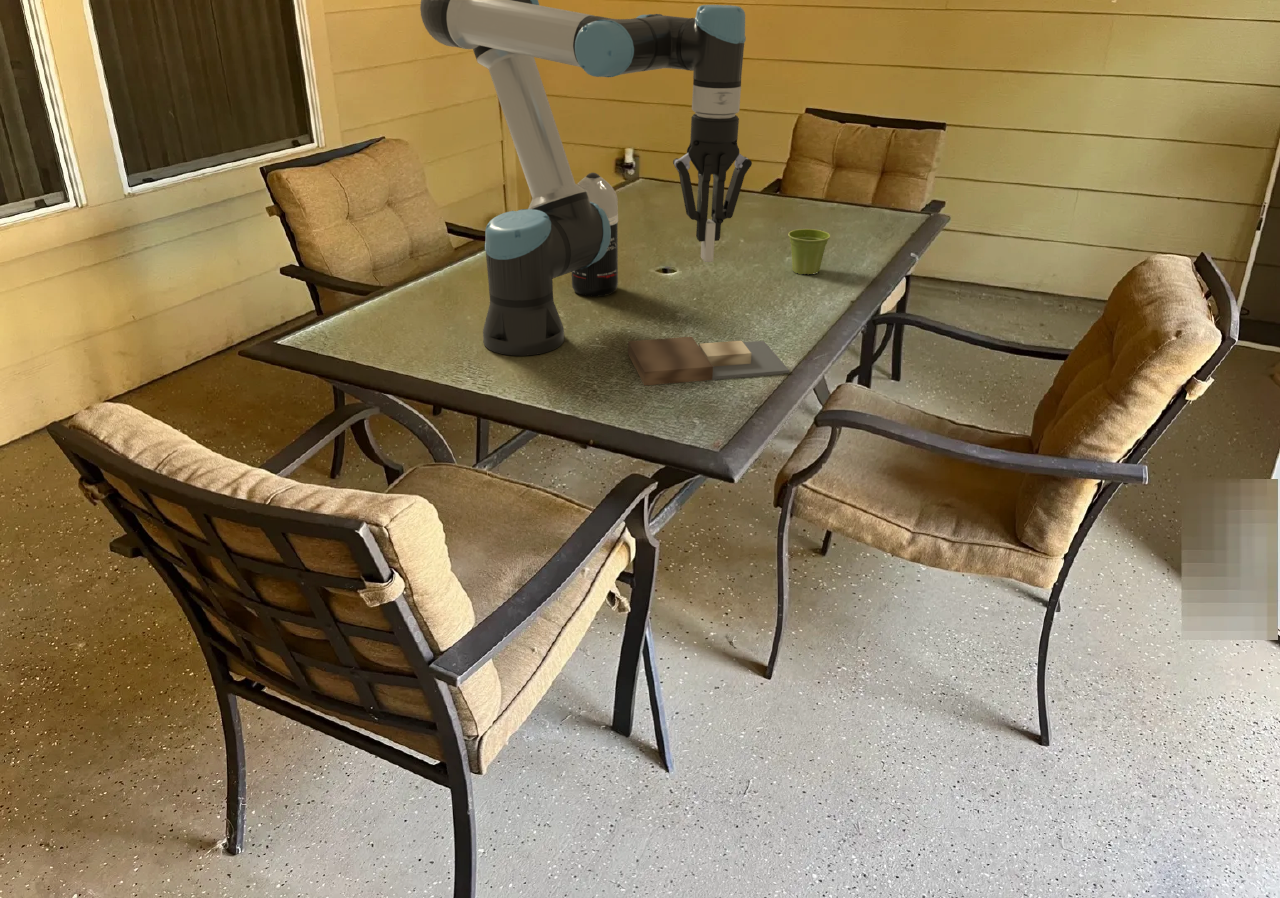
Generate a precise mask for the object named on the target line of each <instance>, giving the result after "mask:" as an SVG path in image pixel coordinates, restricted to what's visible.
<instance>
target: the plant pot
mask: <svg viewBox="0 0 1280 898" xmlns="http://www.w3.org/2000/svg"><path fill="white" fill-rule="evenodd" d="M787 236H788V238H789V242H790V247H791V263H792V264H791V267H792V272H793V271H794V272H793V273H795V274H797V273H798V274H797V275H801V274H804V275H806V274H807V275H809V274H813V273H816V272H818V271H819V272H820V270H821V265H822V262H823V258H824V257H823V256H824V254H825V250H826V246H827V244H828V241H829V239H830V238H831V234H830V233H829V232H827V231H823V230H820V229H814V228H812V229H811V228H801V229H793V230H791V231H788V234H787Z"/></svg>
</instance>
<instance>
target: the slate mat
mask: <svg viewBox="0 0 1280 898" xmlns="http://www.w3.org/2000/svg"><path fill="white" fill-rule="evenodd" d="M742 342H743V343H744V344H745V346H746V347H747V348H748V349H749V351H750V352H751V364H739V365H726V366H713V377H712V380H711V381H715V380H726V379H727V380H728V379H736V378H737V379H738V378H748V377H749V378H750V377H751V378H752V377H760V376H761V377H762V376H772V375H773V376H774V375H784V374H783V373H788V374H790V369H789V368H788V367H787V366H786V365H785V364H784V362H783V361H782V360H781V359H780V358H779V356H778V355H777V354H776V353H775V352H774V351H773V350H772V349H771V348H770V347H769V345H768V344H767V343H766V341H764V340H755V341H742Z"/></svg>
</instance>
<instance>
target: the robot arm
mask: <svg viewBox="0 0 1280 898" xmlns="http://www.w3.org/2000/svg"><path fill="white" fill-rule="evenodd" d="M419 7H420V8H419V10H420V17H421V21H422V24H423V26H424V28H425V29H426V31H427V33H428V34H429V35H430V36H431V37H432V38H433V39H434V40H435V41H437V42H438V43H440V44H441V45H444V46H447V47H453V48H459V49H464V50H473V53H474V56H475V58H476V62H477V64H479V65H481V66H482V67H484V68H486V69H488V73H489V75H490V77H491V81H492V83H493V86H494V89H495V92H496V95H497V99H498V101H499V102H498V103H499V104H500V107H501V111H502V113H503V116H504V119H505V121H506V125H507V127H508V130H509V134H510V137H511V139H512V143H513V146H514V148H515V151H516V154H517V157H518V160H519V163H520V166H521V169H522V172H523V174H524V178H525V180H526V183H527V186H528V188H529V193H530V195H531V200H530V201H531V202H530V204H529V206H528V208H523V209H518V210H516V211H515V210H510V211H506V212H503V213H501V214H497V216H495V217H493V218H492V219H490V220H489V222H488V223H487V225H486V226H485V236H484V237H485V242H484V251H485V258H486V269H487V280H488V281H487V282H488V292H489V305H488V310H487V313H486V317H485V322H484V325H483V329H482V338H483V345H484V346H485V348H487V349H488V350H490V351H491V352H494V353H496V354H502V355H505V356H518V357H519V356H520V357H521V356H536V355H540V354H546V353H549V352H551V351H554V350H555V349H557V348H559V347H560V346H561V345H563V343H564V342H565V330H564V325H563V323H562V320H561V317H560V315H559V313H558V310H557V307H556V304H555V301H554V290H553V289H554V285H553V284H554V283H553V279H555V278H558V277H560V276H561V277H562V276H563V275H566V274H567V275H568V274H570V273H572V272H573V271H575V270H578V269H583V268H586V267H588V266H590V265H591V264H593V263H595V262H597V261H599V260H600V259H601V258H602V257H603V256H604V255H605V253H606V252H607V248H608V246H609V244H610V239H611V228H610V223H609V220H608V217H607V215H606V213H605V212H604V210H603V209H602V208H599V206H598V205H597V204H595V203H593V202H590V201H589V198H588V195H587V192H586V190H585V189H583V188H581V187H579V186H578V185H577V183H576V182H575V179H574V175H573V172H572V170H571V167H570V163H569V160H568V157H567V154H566V151H565V149H564V145H563V141H562V138H561V135H560V133H559V130H558V127H557V124H556V121H555V118H554V114H553V111H552V109H551V106H550V102H549V99H548V96H547V92H546V90H545V87H544V84H543V81H542V78H541V74H540V71H539V69H538V66H537V63H536V59H542V60H544V61H545V60H546V61H551V62H555V63H560V64H564V65H568V66H575V67H579V68H581V69H582V70H583V71H584V72H585V73H586V74H587V75H589V76H591V77H595V78H599V77H600V78H613V77H617V76H621V75H628V74H634V73H638V72H649V71H653V70H654V71H655V70H661V69H672V70H673V69H674V70H684V71H691V72H693V73H692V74H693V75H692V76H693V77H692V78H693V80H692V81H693V83H692V84H693V85H692V96H691V97H692V99H691V100H692V101H691V110H692V111H693V112H694V113H693V114H692V116H691V122H690V141H689V145H688V147H687V149H686V153H685V154H684V155H683V156H681V157H680V158H678V157H677V158H674V159H673V161H672V163H673V165H674V168H675V169H676V171H677V173H678V177H679V181H680V187H681V192H682V197H683V204H684V208H685V214H686V215H687V216H688V217H689V219H690V220H693V221H695V222H696V231H695V232H696V234H695V235H696V239H697V240H698V242H699V243H700V258H701V259H702V261H703V262H704V263H708V262H713V263H714V254H715V242H717V241H720V239H721V231H722V230H721V228H722V224H723V223H724V220H726V219H731V218H733V215H734V212H735V208H736V206H737V203H738V199H739V195H740V193H741V189H742V186H743V182H744V180H745V176H746V174H747V172H748V171H749V170H750V168H751V167H752V164H753V163H752V160H751V159H749V158H748V157H747V156H745V155H742V154H741V153H740V148H739V146H738V137H739V122H740V118H739V117H738V115H736V114H738V113H739V112H740V109H741V107H740V106H741V105H740V104H741V92H742V76H743V75H742V74H743V64H744V63H743V62H744V51H745V42H746V12H745V10H744V8H742V7H740V6H738V5H731V4H730V5H729V4H728V5H727V4H724V5H723V4H702V5H699V6H698V7H697V9H696V13H695V17H683V16H682V17H681V16H672V15H663V14H660V13H654V14H651V13H650V14H649V13H648V14H640V15H638V16H637V17H635V18H634V17H633V18H625V19H624V18H621V19H620V18H610V17H604V16H599V15H594V14H588V13H583V12H577V11H573V10H572V11H571V10H566V9H561V8H557V7H556V8H555V7H549V6H544V5H540V3H539V0H420V6H419ZM535 58H536V59H535ZM691 162H692V165H693V166H694V168H695V169H696V171H697V178H698V179H697V180H698V183H697V198H696V203H695V197H694V192H693V187H692V181H691V175H690V173H689V169H690V167H691V164H690V163H691ZM733 164H734V168H733V172H732V175H731V178H730V182H729V184H728V185H729V186H728V188H727V192H726V195H725V181H726V180H727V172H728V171H729V169H730V168H731V166H732V165H733ZM711 178H713V180H712V181H713V182H712V198H711V219H710V218H708V215H709V213H708V212H709V211H708V210H709V199H710V198H709V197H710V196H709V193H710V182H711ZM724 196H725V199H724Z"/></svg>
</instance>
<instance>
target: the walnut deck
mask: <svg viewBox="0 0 1280 898" xmlns="http://www.w3.org/2000/svg"><path fill="white" fill-rule="evenodd" d="M627 355H628V357H629V359H630V361H631V363H632V365H633V367H634V368H635V370H636V372H637V373H638V376H639V378H640V380H641V382H642V383H643V385H644V386H654V385H667V384H678V383H679V384H680V383H681V384H682V383H689V382H690V383H692V382H703V381H713V380H712V377H713V366H712V364H711V363H710V362H709V360H708V359H707V357H706V356H705V354H704V353H703V352H702V350H701V349H700V347H699V344H698V343H697V341H695V339H694V338H693V336H681V337H668V338H656V339H655V338H653V339H643V340H642V339H641V340H640V339H639V340H629V341H627Z"/></svg>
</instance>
